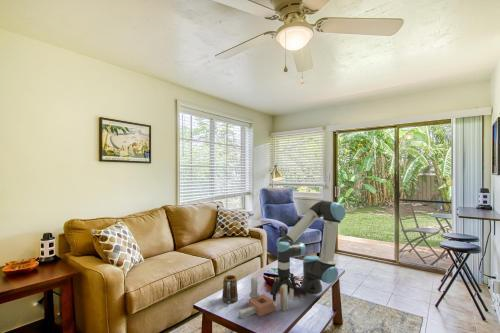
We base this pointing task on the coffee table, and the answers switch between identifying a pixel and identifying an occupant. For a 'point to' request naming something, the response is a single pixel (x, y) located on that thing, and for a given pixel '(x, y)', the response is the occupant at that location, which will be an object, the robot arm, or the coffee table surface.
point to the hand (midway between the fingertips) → (283, 302)
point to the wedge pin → (283, 298)
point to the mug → (230, 289)
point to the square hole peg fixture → (257, 302)
